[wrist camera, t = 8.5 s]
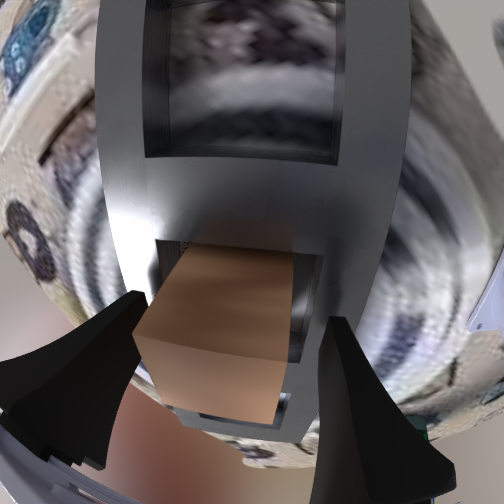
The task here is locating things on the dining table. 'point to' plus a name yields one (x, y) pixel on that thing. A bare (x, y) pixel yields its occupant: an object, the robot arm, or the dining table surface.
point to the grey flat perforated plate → (257, 180)
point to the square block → (221, 331)
